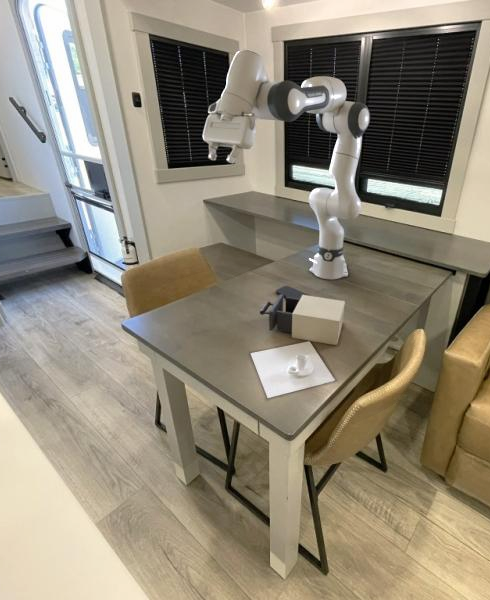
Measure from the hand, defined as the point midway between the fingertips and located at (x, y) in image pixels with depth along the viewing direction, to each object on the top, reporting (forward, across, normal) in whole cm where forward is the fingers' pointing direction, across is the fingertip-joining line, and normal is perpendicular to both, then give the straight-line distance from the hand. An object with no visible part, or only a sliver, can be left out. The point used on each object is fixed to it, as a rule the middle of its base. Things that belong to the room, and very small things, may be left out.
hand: (220, 160), depth 95 cm
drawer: (+43, -16, -33) cm, 56 cm away
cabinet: (+41, -26, -39) cm, 62 cm away
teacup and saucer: (+50, -33, -21) cm, 64 cm away
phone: (+36, -1, -48) cm, 60 cm away
